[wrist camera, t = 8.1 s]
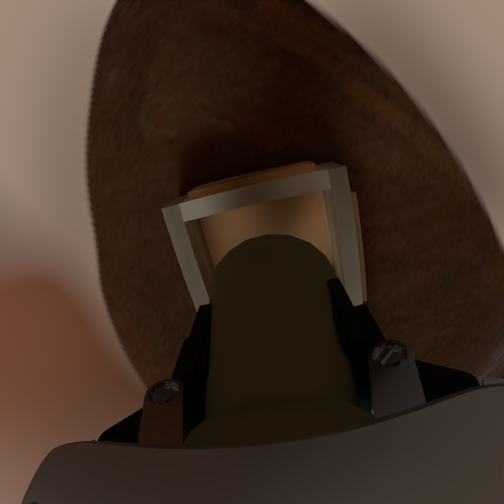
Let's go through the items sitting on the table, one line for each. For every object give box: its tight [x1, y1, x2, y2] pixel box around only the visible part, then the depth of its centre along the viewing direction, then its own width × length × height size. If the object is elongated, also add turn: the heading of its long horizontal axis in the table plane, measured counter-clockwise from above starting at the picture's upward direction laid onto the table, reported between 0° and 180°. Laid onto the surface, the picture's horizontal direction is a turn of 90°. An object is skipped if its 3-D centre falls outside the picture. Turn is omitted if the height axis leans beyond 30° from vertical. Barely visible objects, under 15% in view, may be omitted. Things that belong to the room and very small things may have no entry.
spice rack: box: [162, 161, 367, 312], centre depth 21 cm, size 10×28×4 cm, turn 13°
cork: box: [182, 234, 375, 445], centre depth 8 cm, size 6×6×11 cm
